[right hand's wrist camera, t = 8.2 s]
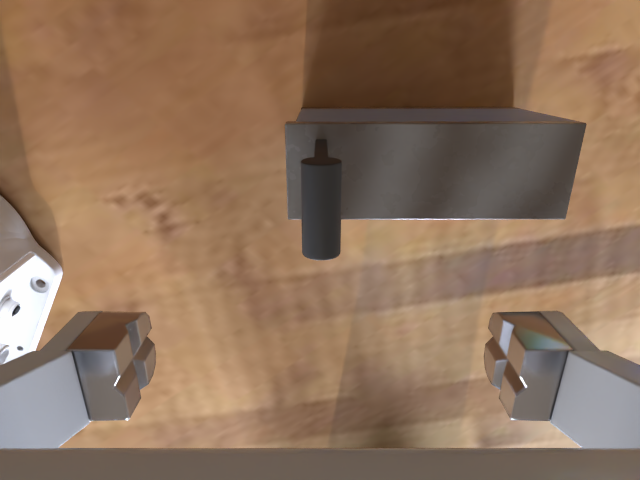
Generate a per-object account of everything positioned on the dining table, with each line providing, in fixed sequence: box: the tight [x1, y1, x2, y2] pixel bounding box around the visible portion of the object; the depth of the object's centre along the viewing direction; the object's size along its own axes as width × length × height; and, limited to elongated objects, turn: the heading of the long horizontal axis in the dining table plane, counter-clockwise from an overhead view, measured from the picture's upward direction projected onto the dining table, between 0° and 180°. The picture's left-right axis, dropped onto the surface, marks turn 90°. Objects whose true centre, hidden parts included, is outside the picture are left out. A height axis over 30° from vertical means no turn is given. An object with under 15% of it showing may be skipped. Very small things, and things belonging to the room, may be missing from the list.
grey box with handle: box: [285, 121, 586, 260], centre depth 23 cm, size 17×6×9 cm, turn 90°
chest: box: [296, 107, 574, 122], centre depth 31 cm, size 17×6×9 cm, turn 90°
